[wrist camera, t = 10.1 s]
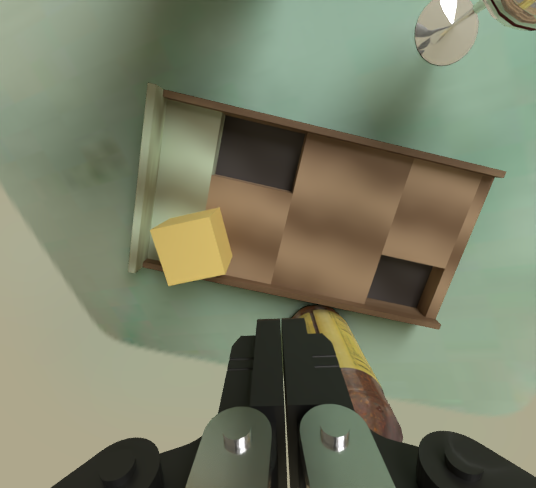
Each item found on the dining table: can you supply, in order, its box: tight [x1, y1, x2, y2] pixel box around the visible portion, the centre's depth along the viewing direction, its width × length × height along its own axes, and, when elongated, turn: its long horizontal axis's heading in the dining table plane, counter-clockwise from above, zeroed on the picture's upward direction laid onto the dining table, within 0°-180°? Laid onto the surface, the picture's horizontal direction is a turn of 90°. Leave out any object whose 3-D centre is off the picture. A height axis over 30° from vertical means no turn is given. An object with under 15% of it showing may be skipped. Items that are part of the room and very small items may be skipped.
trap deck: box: [128, 83, 506, 329], centre depth 26 cm, size 14×28×4 cm, turn 77°
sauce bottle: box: [292, 305, 403, 442], centre depth 22 cm, size 6×6×20 cm
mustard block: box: [150, 207, 232, 286], centre depth 25 cm, size 4×4×4 cm
